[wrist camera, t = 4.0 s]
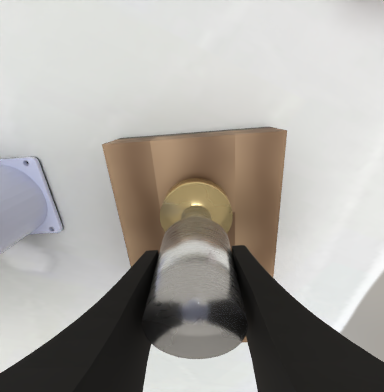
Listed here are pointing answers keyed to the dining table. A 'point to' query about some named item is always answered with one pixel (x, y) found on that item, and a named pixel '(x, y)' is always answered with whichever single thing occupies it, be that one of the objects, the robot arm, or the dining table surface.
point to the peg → (195, 276)
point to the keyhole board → (204, 169)
